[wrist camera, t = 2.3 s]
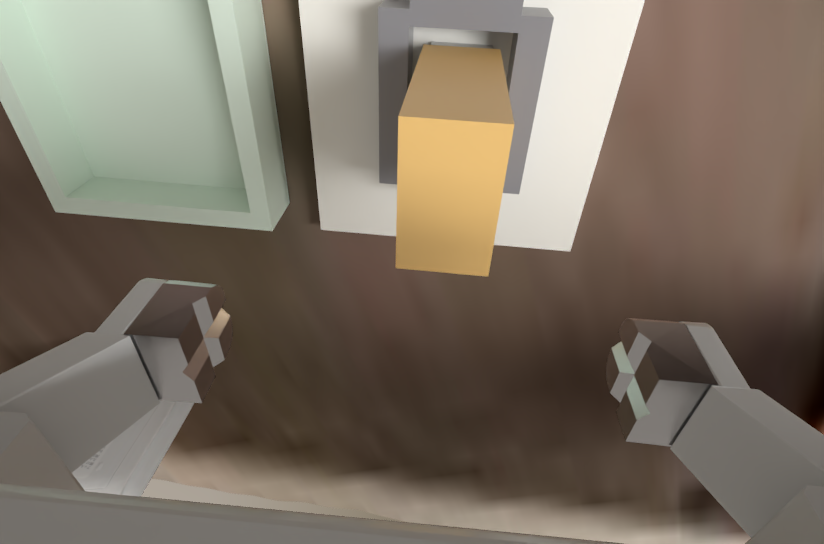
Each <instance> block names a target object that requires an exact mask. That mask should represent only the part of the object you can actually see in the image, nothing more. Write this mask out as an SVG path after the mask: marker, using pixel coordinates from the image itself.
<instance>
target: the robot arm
mask: <svg viewBox="0 0 824 544" xmlns="http://www.w3.org/2000/svg"><path fill="white" fill-rule="evenodd" d="M225 301H226V298H225V295H224V292H223V288H222V287H220V286H218V285H215V284H206V283H196V282H186V281H177V280H163V279H153V278H145V279H142V280H140V281H139V282H138V283H137V284H136V285H135V286H134V287H133V288H132V290H131V291H130V292H129V293H128V294H127V295H126V297H125V298H124V299H123V300H122V301H121V302H120V304H119V305H118V306H117V307H116V308H115V309H114V310H113V312H112V313H111V314H110V315H109V316H108V317H107V319H106V320H105V321H104V322H103V323H102V324H101V325H100V327H99V328H98V329H97V330H96V331H95V332H94V333H91V332H86V333H84V334H82V335H80V336H78V337H76V338H73V339H71V340H69V341H67V342H65V343H63V344H61V345H59V346H57V347H55V348H53V349H51V350H49V351H47V352H45V353H43V354H41V355H39V356H37V357H35V358H33V359H31V360H29V361H27V362H25V363H23V364H21V365H19V366H17V367H14V368H12V369H10V370H8V371H6V372H4V373H2V374H0V544H622V543H612V542H602V541H592V540H581V539H571V538H561V537H551V536H540V535H530V534H520V533H510V532H499V531H489V530H479V529H469V528H458V527H448V526H438V525H428V524H417V523H407V522H396V521H386V520H375V519H365V518H355V517H344V516H334V515H324V514H313V513H303V512H293V511H282V510H272V509H261V508H251V507H241V506H231V505H221V504H210V503H200V502H190V501H179V500H169V499H159V498H149V497H139V496H129V495H118V494H108V493H98V492H87V491H85V490H84V489H83V487H82V486H81V485H80V483H79V482H78V481H77V479H76V478H75V477H74V475H73V474H72V472H73V471H75V470H76V469H77V468H78V467H80V466H81V465H82V464H84V463H85V462H86V461H87V460H89V459H90V458H91V457H92V456H94V455H95V454H96V453H97V452H99V451H100V450H101V449H102V448H104V447H105V446H106V445H107V444H109V443H110V442H111V441H113V440H114V439H115V438H116V437H118V436H119V435H120V434H121V433H123V432H124V431H125V430H126V429H128V428H129V427H130V426H131V425H133V424H134V423H135V422H136V421H138V420H139V419H140V418H142V417H143V416H144V415H145V414H147V413H148V412H149V411H150V410H152V409H153V408H154V407H155V406H157V405H158V404H159V403H160V401H175V402H191V403H202V402H203V400H204V399H205V397H206V395H207V393H208V391H209V389H210V387H211V385H212V383H213V381H214V379H215V378H216V375H215V372H214V369H213V367H214V366H216V365H218V364H219V363H221V362H222V361H224V360H225V358H226V356H227V354H228V352H229V350H230V346H231V342H232V337H233V325H232V321H231V317H230V315H229V314H228V313H227V312H225V311H224V310H223V309H222V306H223V304H224V303H225ZM618 333H619V336H620V339H621V342H619V343H618V344H616V345H615V346H613V347H612V348H611V350H610V353H609V355H608V358H607V364H606V379H607V385H608V388H609V391H610V394H611V395H613V396H614V397H615V398H616V399H617V400H618V401H619V402H620V405H619V407H618V409H617V411H616V414H617V417H618V420H619V423H620V426H621V429H622V432H623V435H624V438H625V441H627V442H636V443H644V444H653V445H662V446H670V447H671V448H670V449H671V450H672V451H673V453H674V454H675V455H676V456H677V457H678V458H679V459H680V460H681V461H682V462H683V464H684V465H685V466H686V467H687V468H688V469H689V470H690V471H691V472H692V473H693V475H694V476H695V477H696V478H697V479H698V480H699V481H700V482H701V483H702V484H703V486H704V487H705V488H706V489H707V490H708V491H709V492H710V493H711V494H712V495H713V497H714V498H715V499H716V500H717V501H718V502H719V503H720V504H721V505H722V506H723V508H724V509H725V510H726V511H727V512H728V513H729V514H730V515H731V516H732V517H733V519H734V520H735V521H736V522H737V523H738V524H739V525H740V526H741V527H742V528H743V530H744V531H745V532H746V533H747V534H748V535H749V536H750V537H751V539H750V540H748V541H747V542H746V543H745V544H824V435H823V434H822V433H820V432H819V431H817V430H816V429H814V428H813V427H812V426H810V425H809V424H807V423H806V422H804V421H803V420H802V419H800V418H799V417H797V416H796V415H795V414H793V413H792V412H790V411H789V410H787V409H786V408H785V407H783V406H782V405H780V404H779V403H777V402H776V401H775V400H773V399H772V398H770V397H769V396H767V395H766V394H765V393H763V392H762V391H760V390H758V389H750V387H749V386H748V384H747V382H746V381H745V379H744V377H743V376H742V374H741V373H740V371H739V369H738V368H737V366H736V364H735V363H734V361H733V360H732V358H731V356H730V355H729V353H728V352H727V350H726V348H725V347H724V345H723V343H722V342H721V340H720V339H719V337H718V335H717V334H716V332H715V331H714V329H713V328H712V327H711V326H710V325H708V324H707V323H698V322H682V321H680V322H676V321H662V320H649V319H635V318H627V319H626V320H625V321H624V322H623V323H622V324H621V327H620V329H619V331H618Z"/></svg>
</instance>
